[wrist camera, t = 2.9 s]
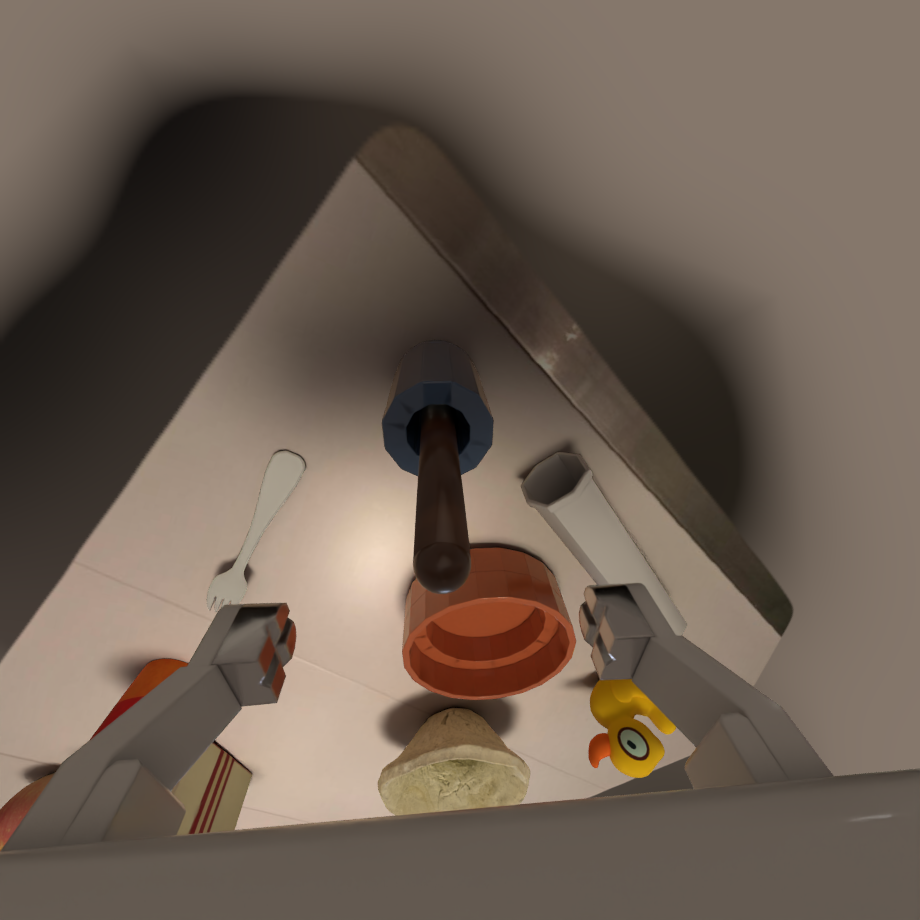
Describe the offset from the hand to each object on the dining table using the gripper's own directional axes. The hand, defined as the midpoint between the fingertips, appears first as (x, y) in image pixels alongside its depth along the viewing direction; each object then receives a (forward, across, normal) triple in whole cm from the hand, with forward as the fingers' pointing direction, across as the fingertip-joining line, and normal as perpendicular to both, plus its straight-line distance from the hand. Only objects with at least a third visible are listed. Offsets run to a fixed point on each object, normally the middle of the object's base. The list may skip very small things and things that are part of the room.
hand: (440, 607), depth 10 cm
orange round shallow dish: (+18, -4, +23) cm, 30 cm away
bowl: (+19, -1, +48) cm, 51 cm away
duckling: (+18, -22, +40) cm, 49 cm away
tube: (+18, -16, +16) cm, 29 cm away
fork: (+19, +16, +14) cm, 28 cm away
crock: (+18, 0, 0) cm, 18 cm away
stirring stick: (+18, 0, 0) cm, 18 cm away
